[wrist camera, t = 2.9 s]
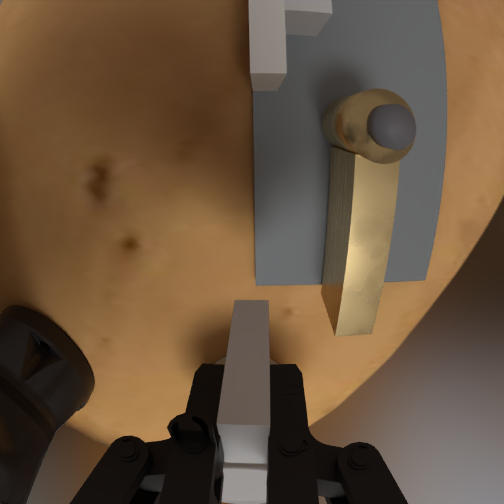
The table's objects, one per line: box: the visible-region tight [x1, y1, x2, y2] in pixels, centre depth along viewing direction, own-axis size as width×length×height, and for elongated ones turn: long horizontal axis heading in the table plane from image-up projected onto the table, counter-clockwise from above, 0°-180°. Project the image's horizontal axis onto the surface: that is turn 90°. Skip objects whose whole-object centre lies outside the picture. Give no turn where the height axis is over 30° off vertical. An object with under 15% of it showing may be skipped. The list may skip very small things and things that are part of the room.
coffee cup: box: [215, 357, 277, 504], centre depth 22 cm, size 9×9×12 cm
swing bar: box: [321, 88, 416, 337], centre depth 16 cm, size 14×4×6 cm, turn 1°
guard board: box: [249, 0, 447, 285], centre depth 14 cm, size 14×24×8 cm, turn 1°
